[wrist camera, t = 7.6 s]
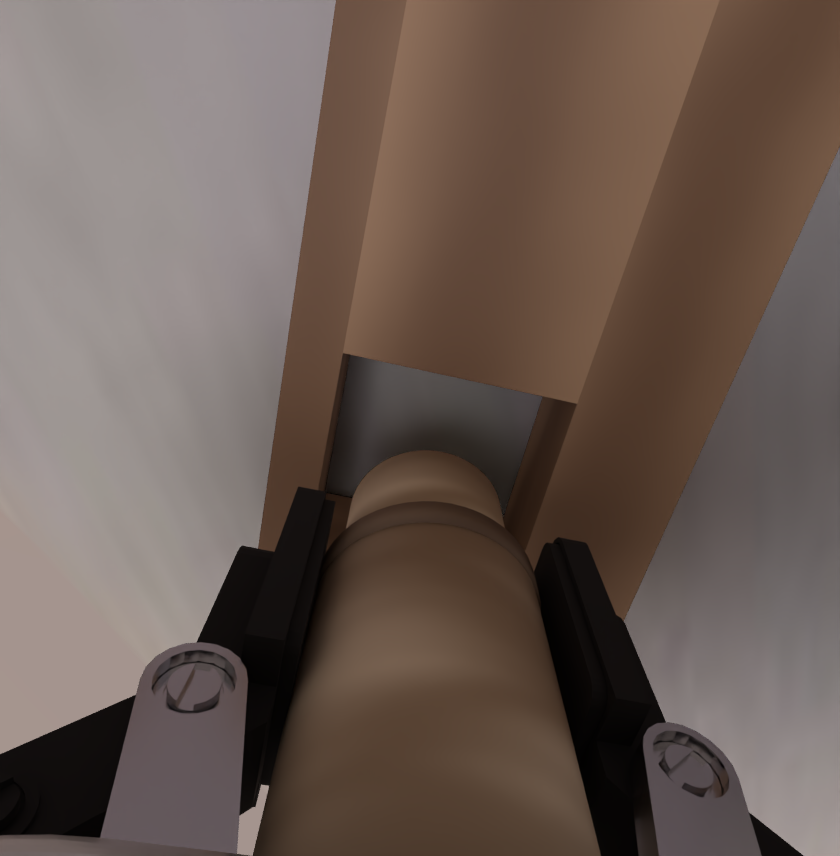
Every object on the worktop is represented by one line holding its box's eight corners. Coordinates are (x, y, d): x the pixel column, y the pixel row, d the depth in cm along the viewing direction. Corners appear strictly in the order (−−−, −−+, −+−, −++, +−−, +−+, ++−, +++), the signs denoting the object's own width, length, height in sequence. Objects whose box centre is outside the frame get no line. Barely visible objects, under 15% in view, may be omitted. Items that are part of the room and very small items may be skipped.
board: (824, 1, 14) (921, -33, 11) (587, 579, 20) (611, 647, 18) (377, -123, 13) (363, -191, 10) (278, 518, 20) (253, 580, 17)
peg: (539, 456, 14) (767, 1082, 5) (489, 604, 15) (585, 1283, 6) (351, 417, 13) (196, 1013, 4) (321, 574, 15) (162, 1241, 6)
